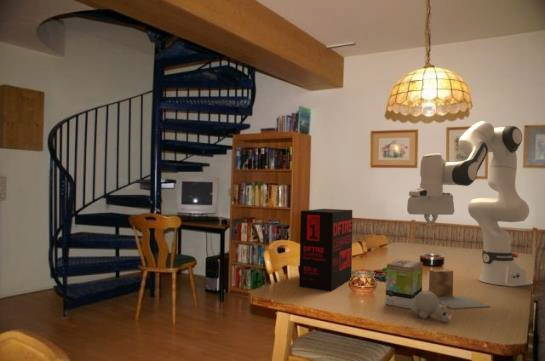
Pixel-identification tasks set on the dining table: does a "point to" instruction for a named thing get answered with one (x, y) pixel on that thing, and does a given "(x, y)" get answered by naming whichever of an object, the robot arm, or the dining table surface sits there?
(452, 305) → the mat
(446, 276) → the walnut block
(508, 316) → the dining table surface
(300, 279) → the product box
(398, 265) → the tea box
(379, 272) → the gear puzzle
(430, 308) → the round bodied animal figurine
